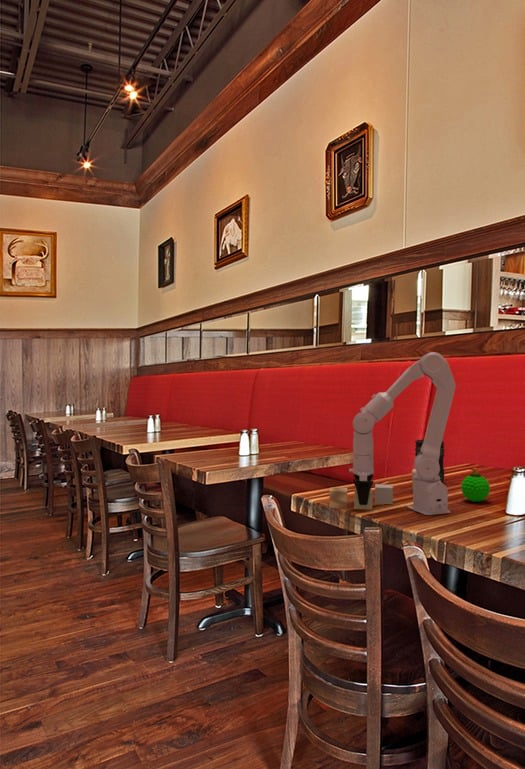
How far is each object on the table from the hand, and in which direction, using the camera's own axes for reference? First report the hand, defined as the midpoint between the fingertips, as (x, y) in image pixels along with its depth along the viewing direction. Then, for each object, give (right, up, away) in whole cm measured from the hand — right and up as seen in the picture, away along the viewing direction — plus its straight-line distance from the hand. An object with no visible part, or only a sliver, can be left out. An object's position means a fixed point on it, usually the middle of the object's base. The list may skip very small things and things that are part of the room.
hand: (363, 501), depth 156 cm
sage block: (0, -2, 0) cm, 2 cm away
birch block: (-7, -2, +1) cm, 7 cm away
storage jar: (+30, -1, +34) cm, 45 cm away
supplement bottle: (+22, -2, +19) cm, 29 cm away
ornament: (+35, -2, +6) cm, 35 cm away
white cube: (+7, -2, +6) cm, 9 cm away
